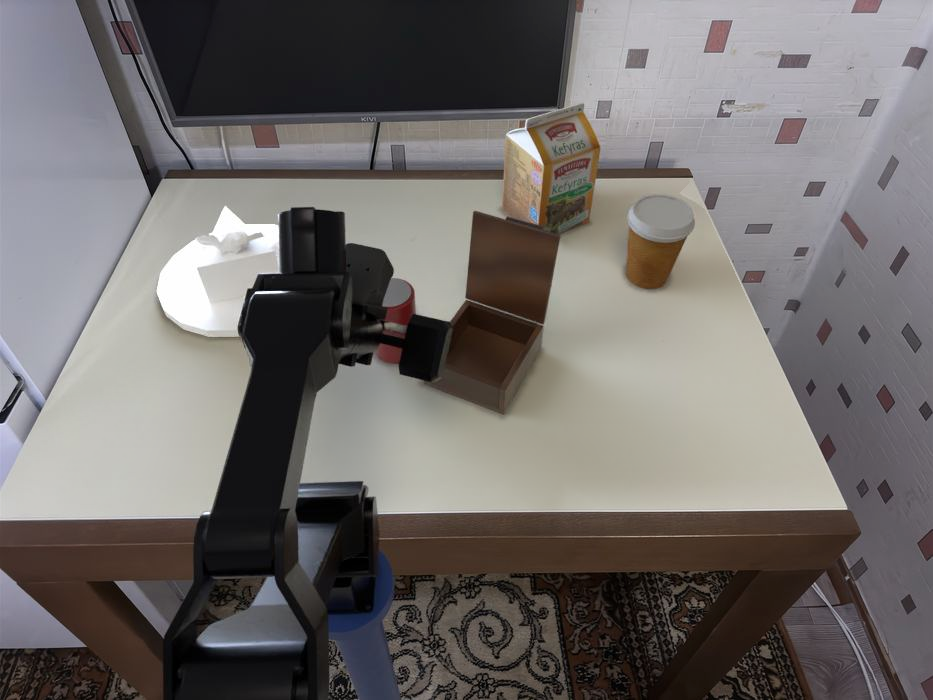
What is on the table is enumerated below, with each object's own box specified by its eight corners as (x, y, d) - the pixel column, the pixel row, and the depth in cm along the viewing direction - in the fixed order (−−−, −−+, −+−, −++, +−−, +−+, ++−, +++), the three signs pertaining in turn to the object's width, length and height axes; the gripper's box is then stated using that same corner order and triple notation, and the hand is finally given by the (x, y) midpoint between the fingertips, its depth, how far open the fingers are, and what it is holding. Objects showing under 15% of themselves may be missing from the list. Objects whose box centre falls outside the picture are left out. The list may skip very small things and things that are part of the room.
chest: (503, 414, 86) (505, 390, 82) (423, 384, 89) (422, 359, 86) (541, 350, 93) (543, 325, 90) (466, 323, 97) (466, 299, 93)
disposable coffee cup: (691, 280, 103) (711, 216, 94) (646, 305, 100) (663, 240, 91) (646, 248, 109) (662, 184, 100) (602, 270, 105) (614, 206, 96)
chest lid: (559, 237, 81) (570, 222, 85) (472, 212, 85) (487, 199, 88) (543, 324, 89) (554, 308, 93) (465, 298, 93) (478, 284, 96)
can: (418, 363, 92) (413, 308, 84) (372, 364, 92) (364, 309, 84) (419, 330, 96) (415, 275, 88) (375, 331, 96) (367, 276, 88)
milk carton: (536, 242, 110) (546, 135, 96) (502, 209, 116) (507, 104, 102) (588, 222, 113) (605, 117, 100) (552, 191, 120) (563, 88, 106)
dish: (342, 312, 99) (330, 251, 90) (163, 355, 93) (134, 294, 85) (309, 218, 114) (297, 159, 106) (155, 249, 109) (130, 189, 100)
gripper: (444, 264, 59) (480, 280, 74) (256, 224, 63) (327, 248, 78) (417, 387, 60) (458, 379, 75) (232, 340, 64) (307, 341, 79)
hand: (386, 333), depth 77 cm, fingers open, 9 cm apart
